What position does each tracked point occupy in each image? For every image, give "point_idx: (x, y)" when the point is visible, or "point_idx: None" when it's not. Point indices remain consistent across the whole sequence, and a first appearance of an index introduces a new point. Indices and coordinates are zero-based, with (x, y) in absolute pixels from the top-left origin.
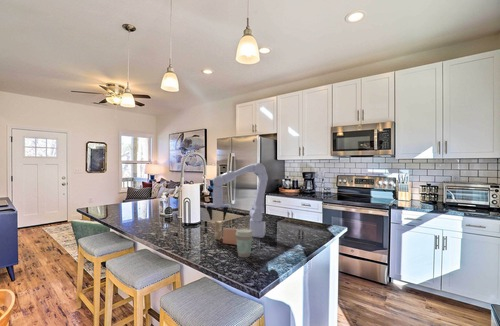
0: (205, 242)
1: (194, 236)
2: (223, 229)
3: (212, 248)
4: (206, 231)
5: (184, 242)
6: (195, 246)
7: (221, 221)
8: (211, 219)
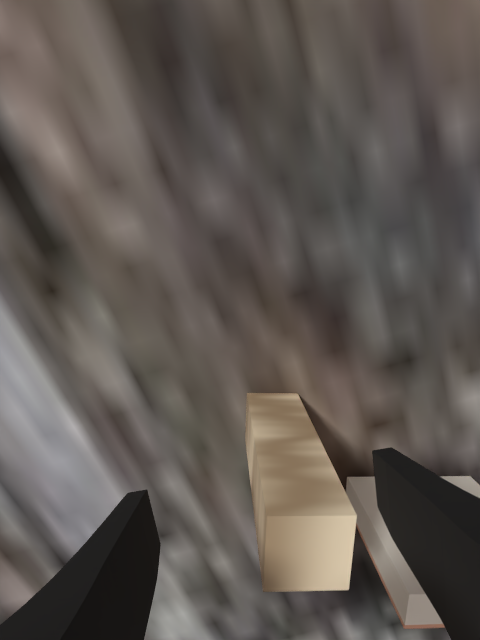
0: (197, 531)
1: (11, 420)
2: (406, 618)
3: (304, 620)
4: (36, 217)
5: (25, 580)
6: (162, 624)
7: (354, 535)
8: (157, 542)
